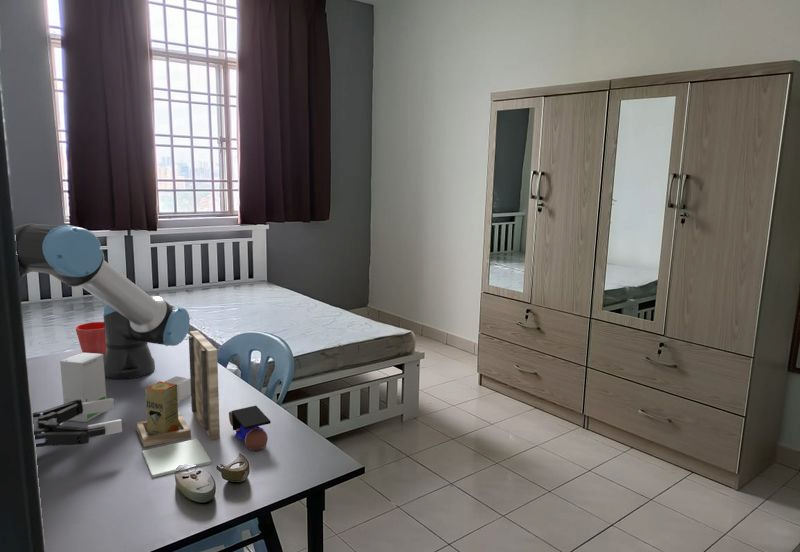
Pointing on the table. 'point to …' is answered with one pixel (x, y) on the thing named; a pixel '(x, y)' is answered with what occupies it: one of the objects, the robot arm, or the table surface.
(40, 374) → the table surface
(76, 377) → the skincare box
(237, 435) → the figurine character
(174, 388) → the shoe polish box
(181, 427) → the board
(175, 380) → the white cube
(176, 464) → the sage mat
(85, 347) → the flower pot
